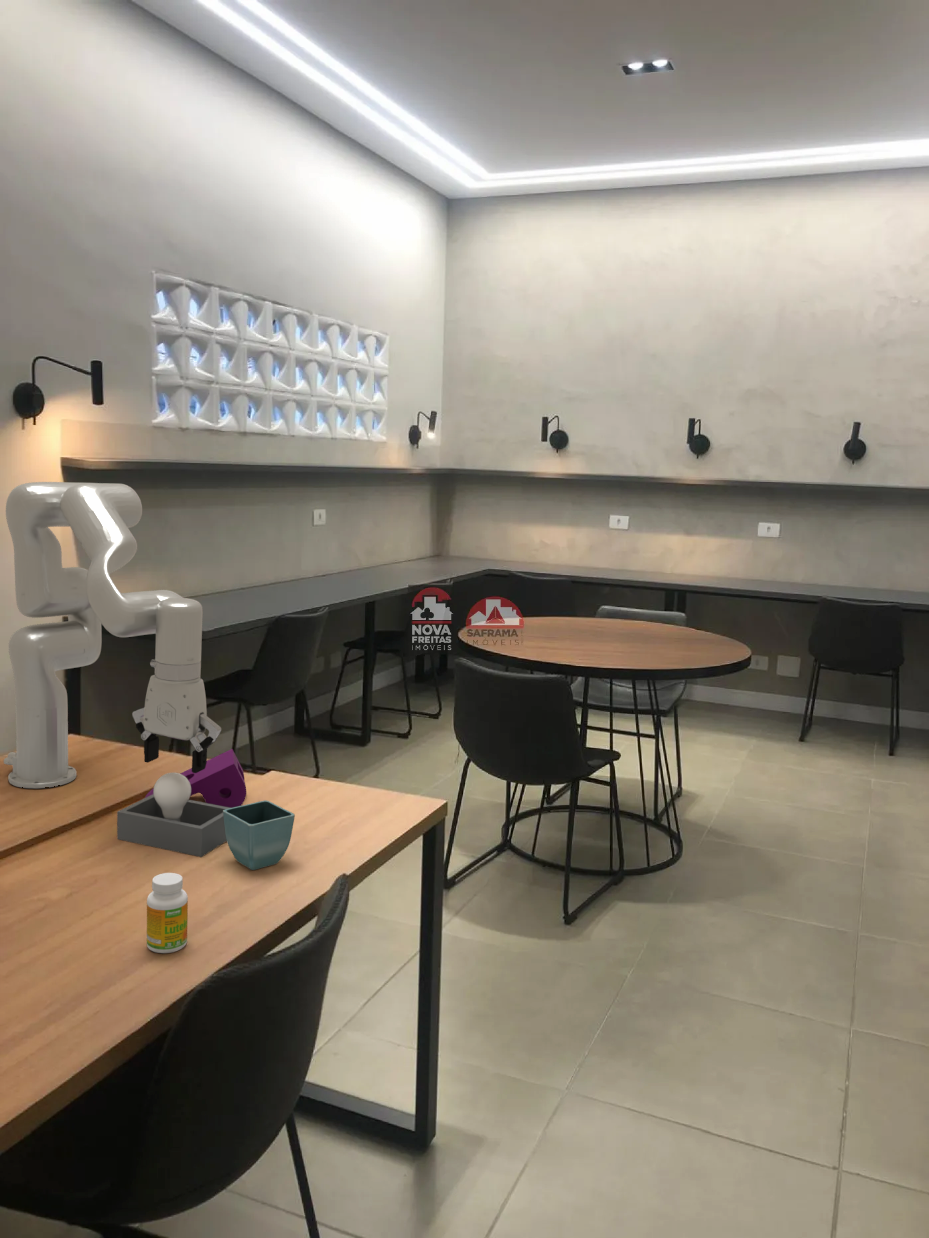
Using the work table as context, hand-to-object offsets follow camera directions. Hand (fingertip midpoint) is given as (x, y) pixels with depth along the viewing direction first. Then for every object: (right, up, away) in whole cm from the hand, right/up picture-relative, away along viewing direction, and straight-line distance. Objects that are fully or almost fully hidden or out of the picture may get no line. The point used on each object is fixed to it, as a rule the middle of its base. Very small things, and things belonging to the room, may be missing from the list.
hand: (174, 765), depth 170 cm
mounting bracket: (-1, -11, +18) cm, 21 cm away
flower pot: (+16, -16, -7) cm, 23 cm away
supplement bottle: (+9, -20, -35) cm, 41 cm away
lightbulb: (-1, -12, +2) cm, 13 cm away
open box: (0, -13, +2) cm, 13 cm away
